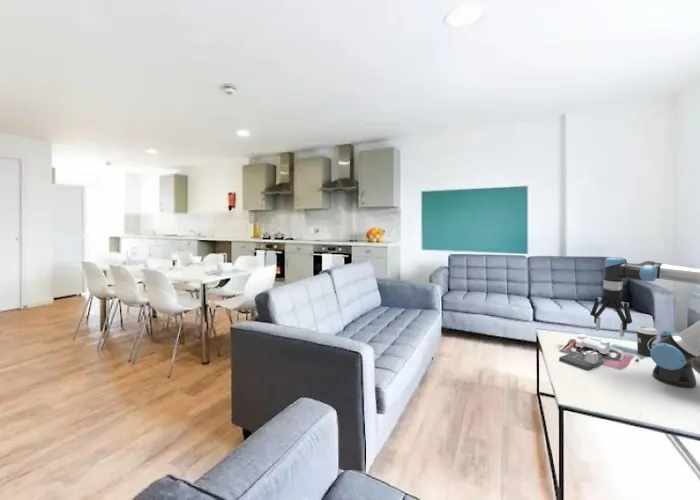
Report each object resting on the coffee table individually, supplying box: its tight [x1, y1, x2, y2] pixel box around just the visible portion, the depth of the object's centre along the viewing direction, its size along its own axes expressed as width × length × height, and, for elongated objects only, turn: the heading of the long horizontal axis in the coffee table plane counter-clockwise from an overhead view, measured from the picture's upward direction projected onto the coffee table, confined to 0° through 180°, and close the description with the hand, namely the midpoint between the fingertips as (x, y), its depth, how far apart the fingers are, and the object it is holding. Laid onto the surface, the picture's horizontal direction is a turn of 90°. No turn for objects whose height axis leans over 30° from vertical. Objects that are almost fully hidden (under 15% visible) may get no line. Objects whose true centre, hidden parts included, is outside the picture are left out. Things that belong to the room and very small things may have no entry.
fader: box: [585, 350, 599, 364], centre depth 181 cm, size 4×4×5 cm
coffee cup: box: [635, 325, 659, 357], centre depth 195 cm, size 10×10×15 cm
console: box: [558, 351, 604, 372], centre depth 185 cm, size 14×16×4 cm
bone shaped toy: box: [575, 333, 611, 355], centre depth 201 cm, size 15×9×8 cm, turn 34°
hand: (609, 333), depth 173 cm, fingers open, 10 cm apart
